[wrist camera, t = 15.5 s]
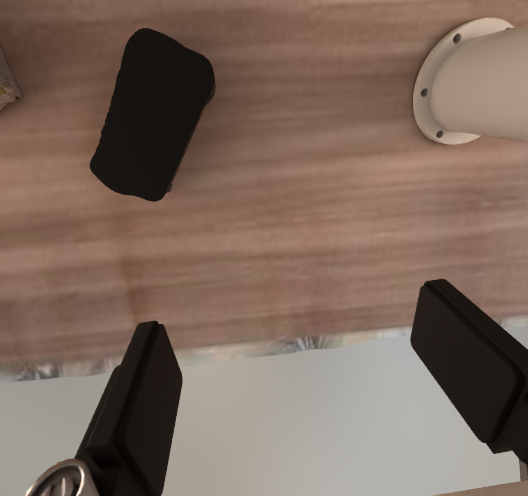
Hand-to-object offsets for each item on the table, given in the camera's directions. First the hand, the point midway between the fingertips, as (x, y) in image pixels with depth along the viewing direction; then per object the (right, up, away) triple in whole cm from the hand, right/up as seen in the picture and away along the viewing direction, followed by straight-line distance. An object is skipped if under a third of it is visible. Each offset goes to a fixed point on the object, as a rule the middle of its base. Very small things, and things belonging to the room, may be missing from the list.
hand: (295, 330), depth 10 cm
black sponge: (-13, +17, +22) cm, 31 cm away
